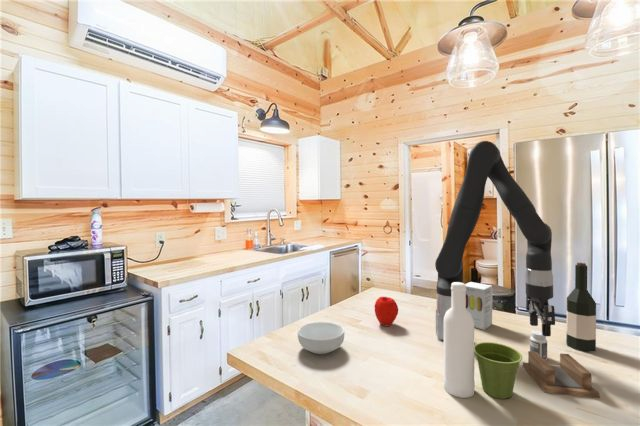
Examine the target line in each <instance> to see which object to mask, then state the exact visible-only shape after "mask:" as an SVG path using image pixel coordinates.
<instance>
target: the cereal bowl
mask: <svg viewBox="0 0 640 426" xmlns="http://www.w3.org/2000/svg"><path fill="white" fill-rule="evenodd" d="M297 339H298V342H299V344H300V346H301V347H302V348H303V349H305V350H306V351H308V352H311V353H313V354H316V355H326V354H329V353H331V352H334V351H335V350H338V348H340V347H341V345H343V342H344V340H345V329H344V327H343V326H342V325H339V324H336V323H334V322H328V321H316V322H311V323H310V322H309V323H306V324H304V325H302V326H301V327H299V329H297Z"/></svg>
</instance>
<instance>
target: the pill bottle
mask: <svg viewBox="0 0 640 426" xmlns="http://www.w3.org/2000/svg"><path fill="white" fill-rule="evenodd" d="M530 335H531V336H530V337H529V351H534V352H537V353H538V354H539V355H540V356H541V357H542V358H543V359H544V360H545V361H547V360H548V340H547V336H543V335H542V330H541V331H540V330H531V333H530Z"/></svg>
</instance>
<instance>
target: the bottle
mask: <svg viewBox="0 0 640 426" xmlns="http://www.w3.org/2000/svg"><path fill="white" fill-rule="evenodd" d="M465 284H466V283H464V282H463V283H461V282H453V283H452V284H451V308H450V309H449V310H448V311H447V312H446V313H445V316H444V340H443V378H442V379H443V388H444V391H446V392H447V393H448V394H450V395H451V396H454V397H456V398H461V399H468V398H471V397H473V396H474V394H475V386H476V385H475V352H474V345H475V327H474V321H473V318H472V315H471V314H470V313H469V312H468V311H467V310H466V285H465Z"/></svg>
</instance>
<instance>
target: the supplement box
mask: <svg viewBox="0 0 640 426" xmlns="http://www.w3.org/2000/svg"><path fill="white" fill-rule="evenodd" d="M464 284H465V285H466V310H467V311H468V312H469V313H470V314H471V315H472V318H473V321H474V329H480V330H483V331H485V330H486V329H488V328H489V327H490V326H492V324H493V285H491V284H484V283H480V282H473V281H470V282H467V283H464Z"/></svg>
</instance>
